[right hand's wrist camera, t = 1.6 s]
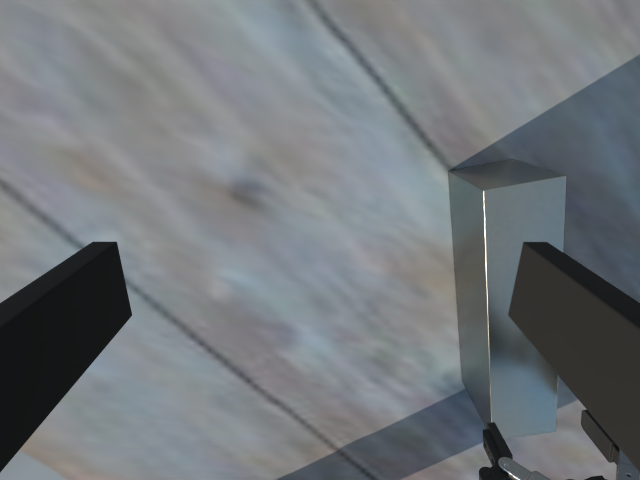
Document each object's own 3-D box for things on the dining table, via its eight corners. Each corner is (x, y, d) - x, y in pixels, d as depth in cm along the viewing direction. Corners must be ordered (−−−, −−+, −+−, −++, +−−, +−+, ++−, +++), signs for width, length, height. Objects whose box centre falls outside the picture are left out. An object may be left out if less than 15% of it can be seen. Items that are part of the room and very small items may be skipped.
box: (447, 170, 37) (483, 190, 29) (513, 158, 37) (567, 175, 29) (461, 381, 46) (492, 440, 38) (514, 373, 45) (556, 432, 37)
